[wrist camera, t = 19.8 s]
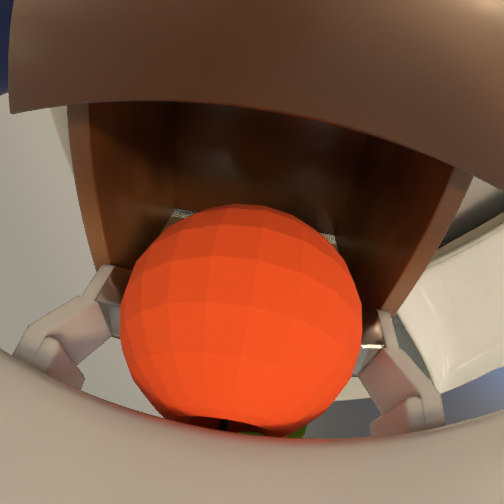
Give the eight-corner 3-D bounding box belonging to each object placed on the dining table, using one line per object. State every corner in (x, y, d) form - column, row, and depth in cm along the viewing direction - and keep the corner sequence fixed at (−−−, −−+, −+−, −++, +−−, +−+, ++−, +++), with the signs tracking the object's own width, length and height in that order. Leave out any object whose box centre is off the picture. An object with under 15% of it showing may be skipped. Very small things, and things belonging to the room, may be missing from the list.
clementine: (378, 288, 11) (408, 451, 6) (249, 336, 14) (231, 470, 9) (279, 123, 8) (261, 337, 2) (132, 228, 11) (41, 385, 5)
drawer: (322, 301, 21) (329, 407, 15) (164, 274, 21) (124, 373, 14) (406, 60, 10) (525, 86, 3) (166, 18, 10) (48, 1, 3)
